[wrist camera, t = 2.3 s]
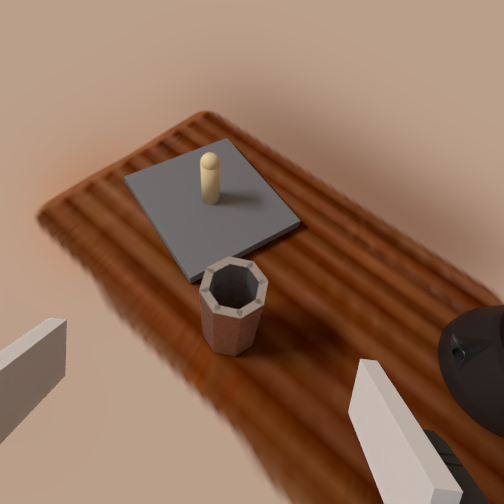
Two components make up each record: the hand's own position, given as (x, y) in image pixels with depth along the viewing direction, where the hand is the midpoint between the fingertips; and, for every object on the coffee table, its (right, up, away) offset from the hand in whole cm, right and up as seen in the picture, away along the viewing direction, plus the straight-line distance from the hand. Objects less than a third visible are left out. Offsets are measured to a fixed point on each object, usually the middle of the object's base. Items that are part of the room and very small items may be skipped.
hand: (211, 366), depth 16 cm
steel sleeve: (-1, -4, +27) cm, 27 cm away
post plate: (-4, +12, +37) cm, 39 cm away
